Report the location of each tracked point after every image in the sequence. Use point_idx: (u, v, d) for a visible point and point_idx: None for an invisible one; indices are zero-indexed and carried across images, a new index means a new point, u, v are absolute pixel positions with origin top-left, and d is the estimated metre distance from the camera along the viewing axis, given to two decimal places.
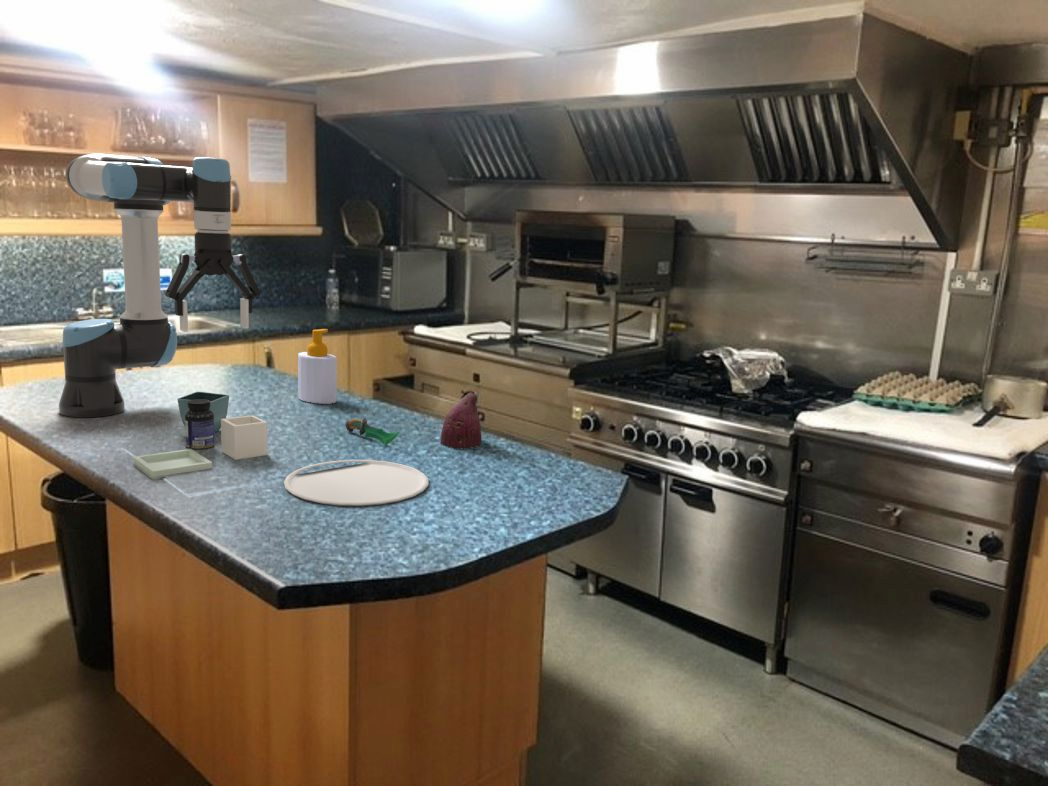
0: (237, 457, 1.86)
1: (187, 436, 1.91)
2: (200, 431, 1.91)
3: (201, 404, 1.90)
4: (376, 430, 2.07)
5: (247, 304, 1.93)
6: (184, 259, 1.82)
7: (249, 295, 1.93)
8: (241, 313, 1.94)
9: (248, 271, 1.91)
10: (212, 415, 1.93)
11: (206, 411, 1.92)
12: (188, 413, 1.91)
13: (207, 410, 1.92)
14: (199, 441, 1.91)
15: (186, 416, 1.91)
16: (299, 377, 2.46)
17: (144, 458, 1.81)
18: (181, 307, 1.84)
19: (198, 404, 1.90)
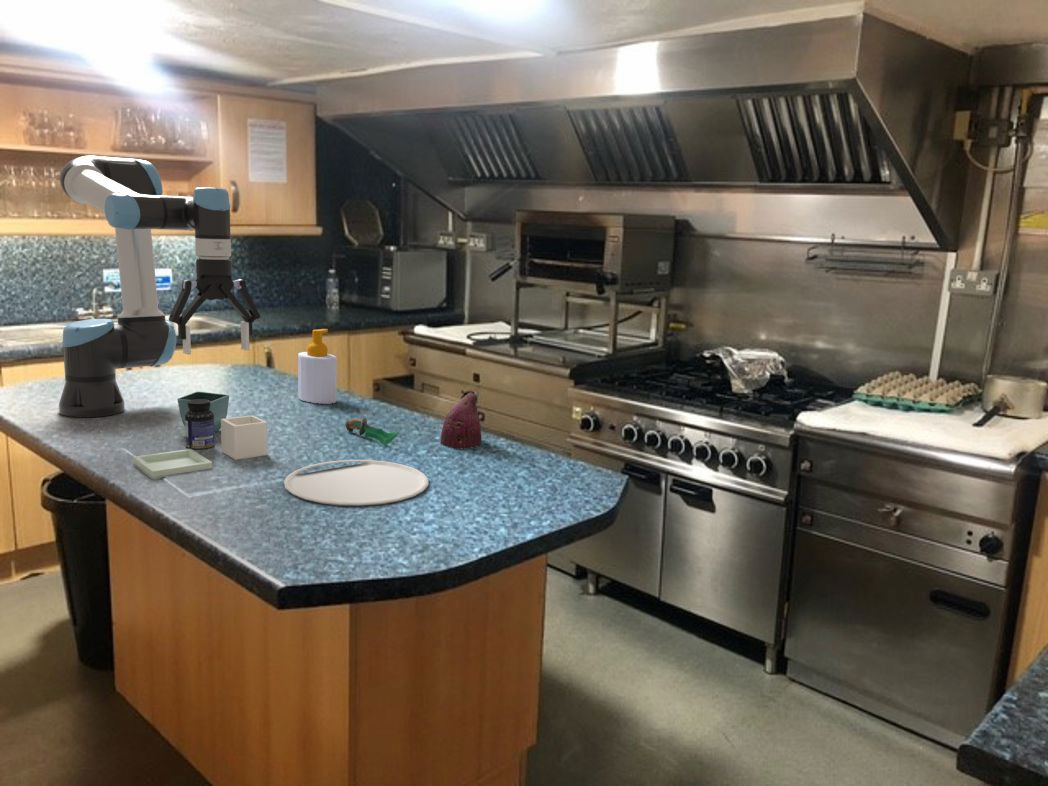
0: (237, 457, 1.86)
1: (187, 436, 1.91)
2: (200, 431, 1.91)
3: (201, 404, 1.90)
4: (375, 430, 2.07)
5: (247, 327, 2.00)
6: (186, 285, 1.89)
7: (249, 318, 2.00)
8: (242, 336, 2.02)
9: (248, 295, 1.99)
10: (212, 415, 1.93)
11: (206, 411, 1.92)
12: (188, 413, 1.91)
13: (207, 410, 1.92)
14: (199, 441, 1.91)
15: (186, 416, 1.91)
16: (299, 377, 2.46)
17: (144, 458, 1.81)
18: (184, 331, 1.91)
19: (198, 404, 1.90)
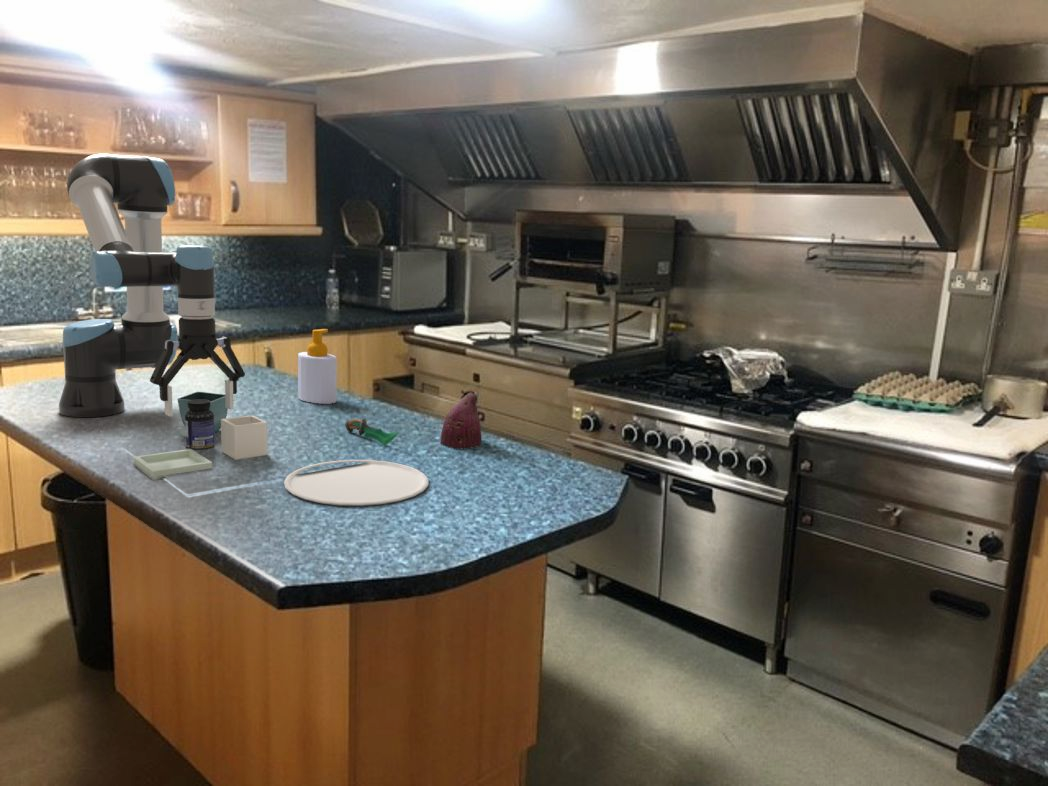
0: (237, 457, 1.86)
1: (187, 436, 1.91)
2: (200, 431, 1.91)
3: (201, 404, 1.90)
4: (375, 431, 2.07)
5: (232, 386, 1.95)
6: (168, 346, 1.84)
7: (233, 377, 1.95)
8: (226, 394, 1.96)
9: (233, 353, 1.94)
10: (212, 415, 1.93)
11: (206, 411, 1.92)
12: (188, 413, 1.91)
13: (207, 410, 1.92)
14: (199, 441, 1.91)
15: (186, 416, 1.91)
16: (299, 377, 2.46)
17: (144, 458, 1.81)
18: (166, 392, 1.86)
19: (198, 404, 1.90)
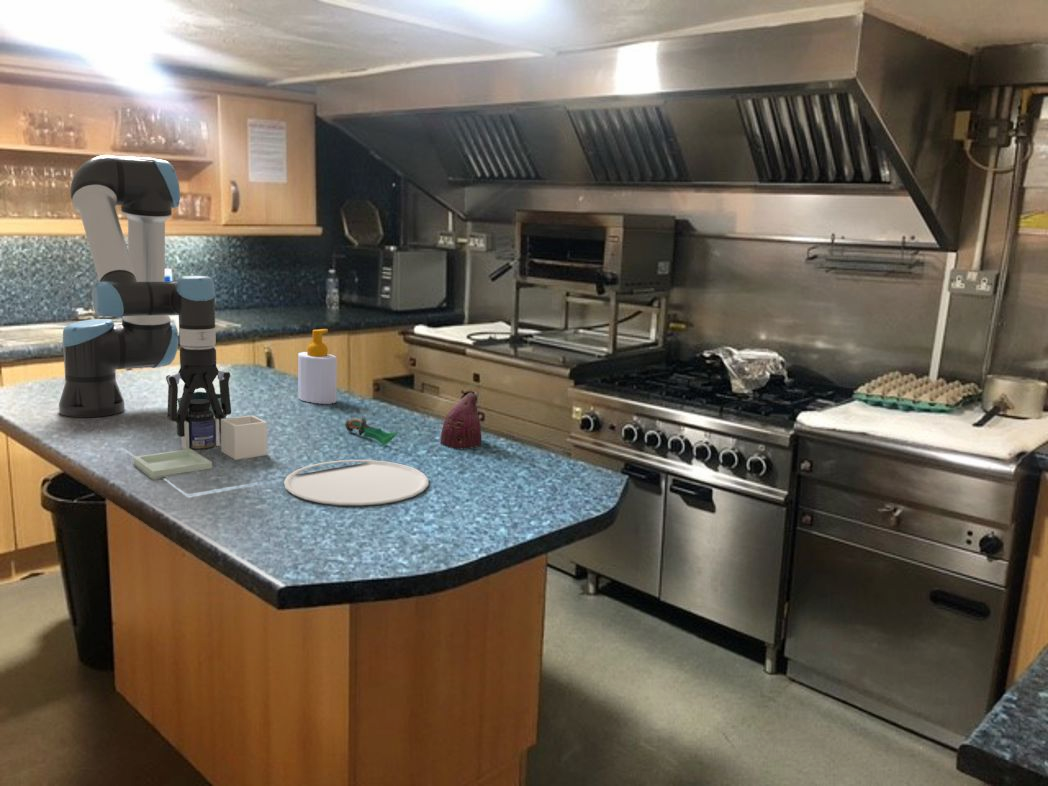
0: (237, 457, 1.86)
1: None
2: (200, 431, 1.91)
3: (201, 404, 1.90)
4: (374, 430, 2.07)
5: (218, 424, 1.94)
6: (171, 382, 1.86)
7: (220, 414, 1.95)
8: None
9: (228, 389, 1.95)
10: (212, 415, 1.93)
11: (206, 411, 1.92)
12: (188, 413, 1.91)
13: (207, 410, 1.92)
14: (199, 441, 1.91)
15: (186, 416, 1.91)
16: (299, 377, 2.46)
17: (144, 458, 1.81)
18: (183, 428, 1.90)
19: (198, 404, 1.90)
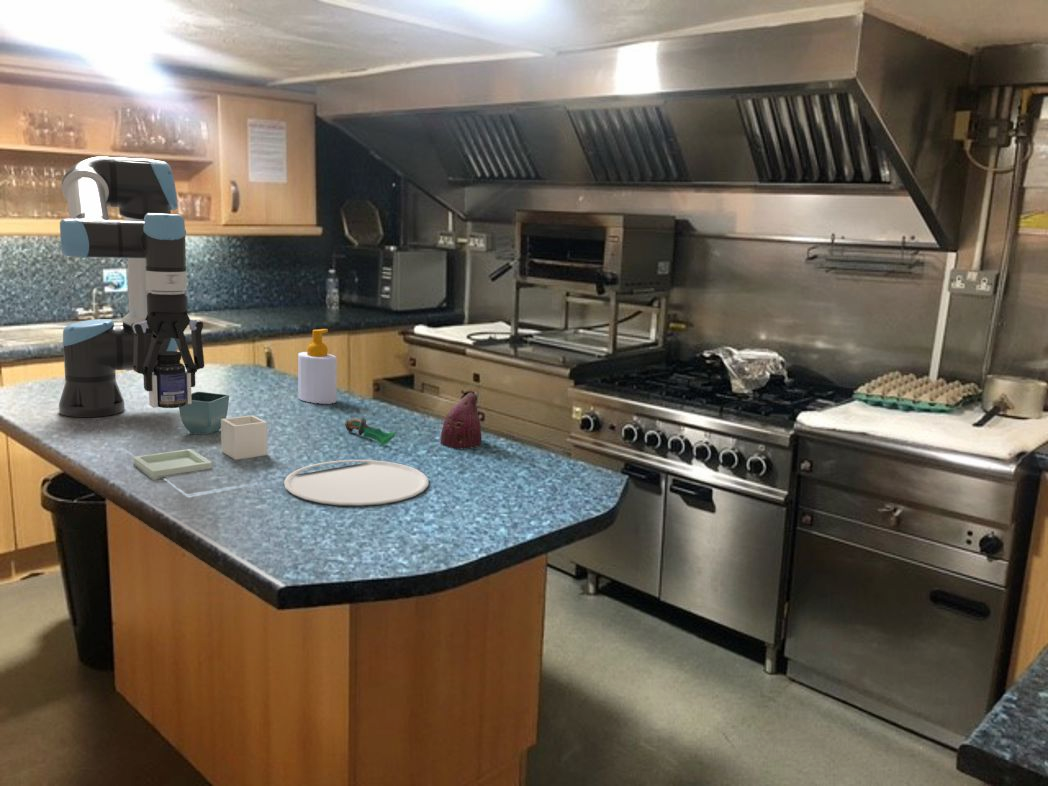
0: (237, 457, 1.86)
1: None
2: (169, 385, 1.73)
3: (171, 355, 1.73)
4: (374, 430, 2.07)
5: (189, 378, 1.77)
6: (137, 330, 1.69)
7: (192, 368, 1.77)
8: None
9: (200, 340, 1.77)
10: (183, 368, 1.76)
11: (177, 364, 1.75)
12: (156, 366, 1.73)
13: (177, 362, 1.75)
14: (168, 396, 1.74)
15: (154, 369, 1.74)
16: (299, 377, 2.46)
17: (144, 458, 1.81)
18: (150, 382, 1.73)
19: (167, 355, 1.73)
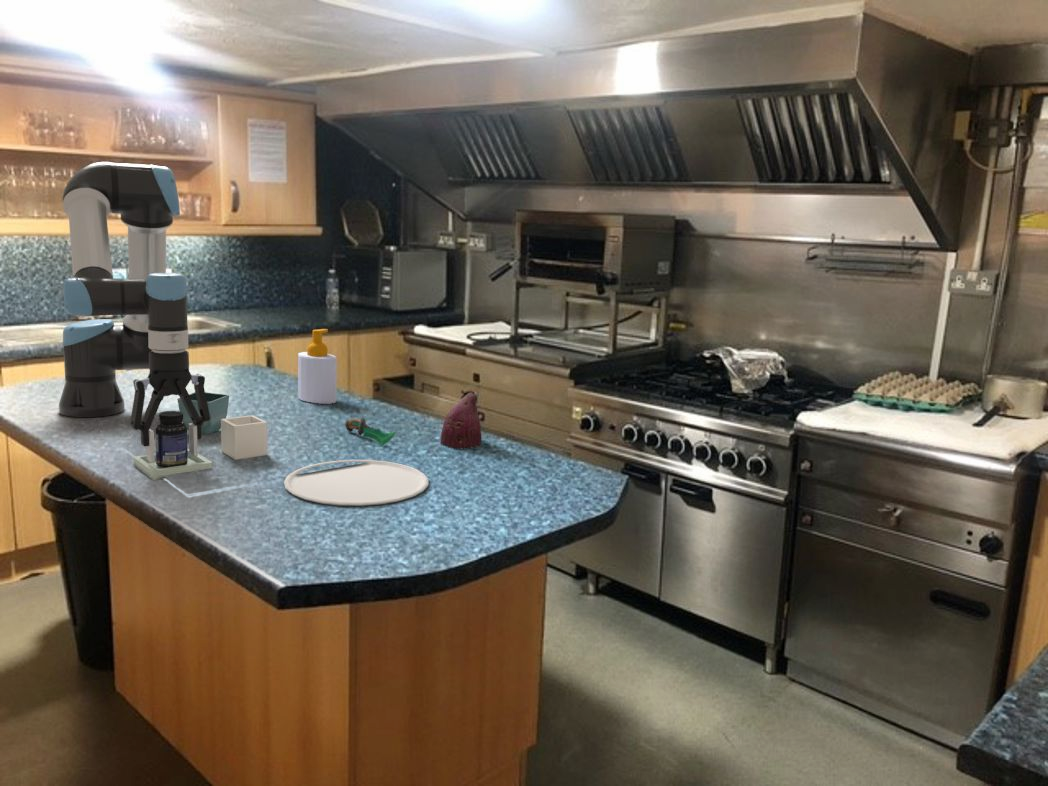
0: (237, 457, 1.86)
1: (157, 451, 1.77)
2: (171, 445, 1.76)
3: (173, 416, 1.76)
4: (373, 430, 2.07)
5: (195, 431, 1.80)
6: (138, 387, 1.71)
7: (198, 421, 1.80)
8: (189, 439, 1.82)
9: (204, 394, 1.80)
10: (185, 428, 1.78)
11: (179, 424, 1.77)
12: (159, 426, 1.76)
13: (180, 423, 1.78)
14: (170, 456, 1.77)
15: (156, 429, 1.76)
16: (299, 377, 2.46)
17: (144, 458, 1.81)
18: (147, 437, 1.75)
19: (170, 416, 1.76)
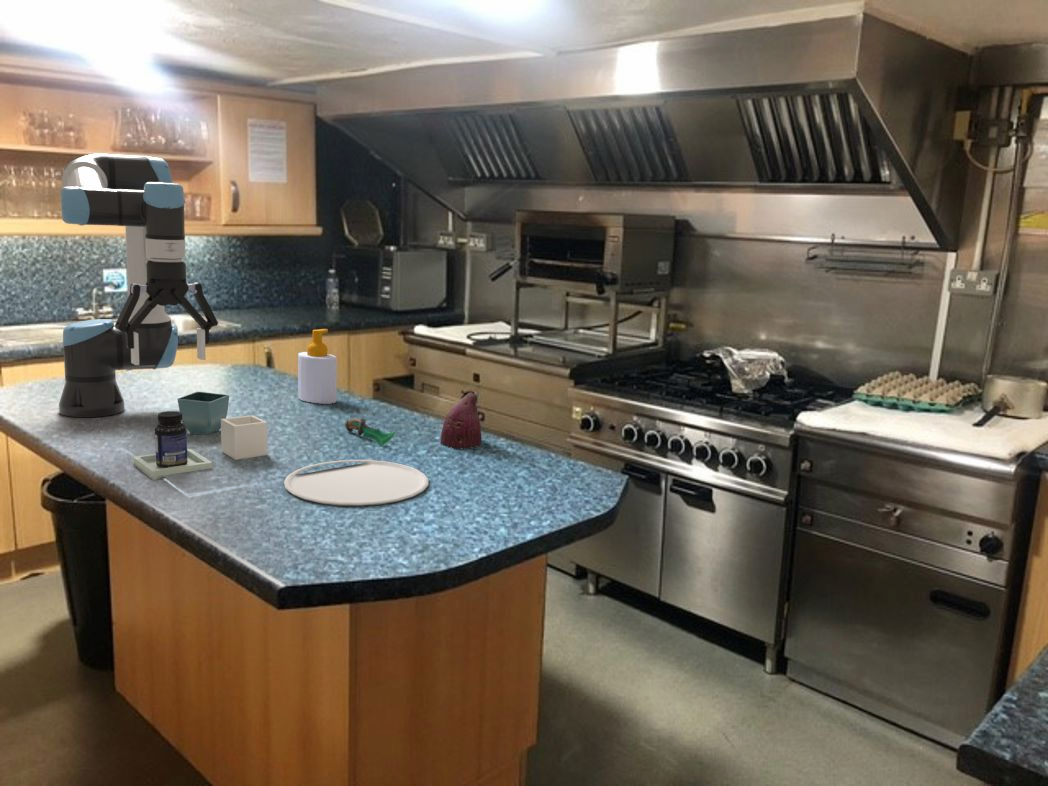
0: (237, 457, 1.86)
1: (157, 451, 1.77)
2: (171, 445, 1.76)
3: (172, 417, 1.76)
4: (373, 431, 2.07)
5: (203, 335, 1.83)
6: (134, 290, 1.72)
7: (206, 325, 1.83)
8: (197, 344, 1.85)
9: (205, 300, 1.82)
10: (184, 428, 1.78)
11: (178, 425, 1.77)
12: (158, 427, 1.76)
13: (179, 423, 1.78)
14: (169, 457, 1.76)
15: (156, 430, 1.76)
16: (299, 377, 2.46)
17: (144, 458, 1.81)
18: (132, 340, 1.75)
19: (168, 417, 1.76)
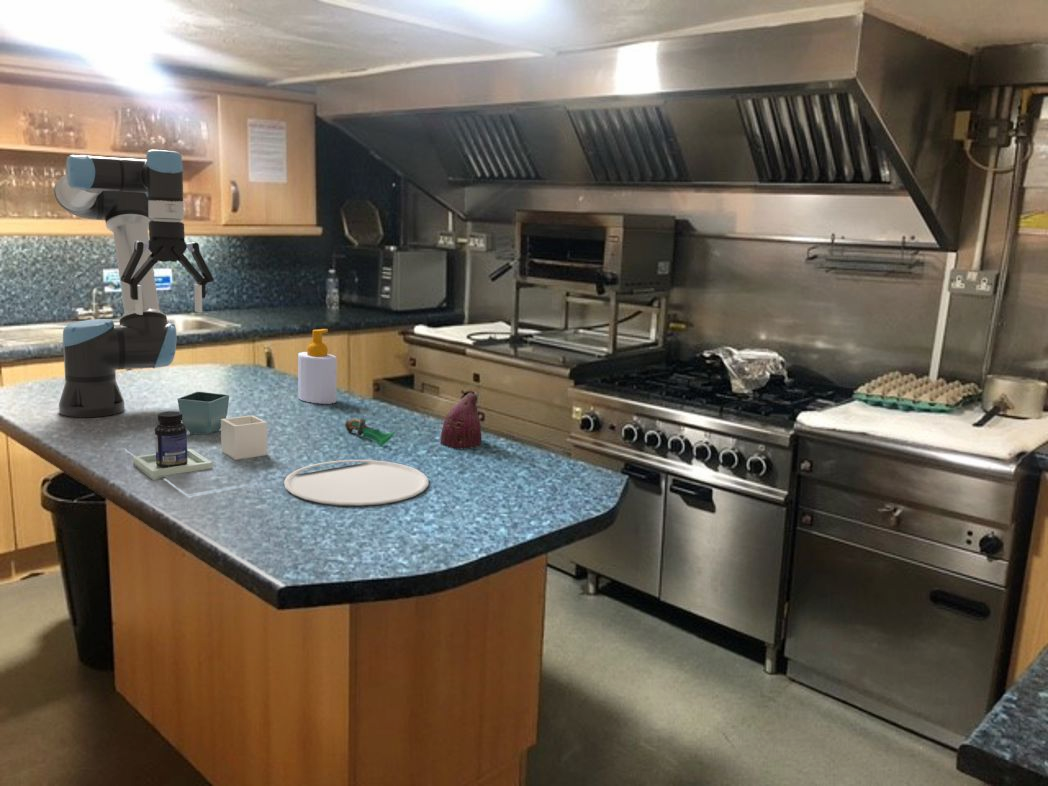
0: (237, 457, 1.86)
1: (157, 451, 1.77)
2: (171, 445, 1.76)
3: (172, 417, 1.76)
4: (372, 431, 2.07)
5: (200, 289, 2.03)
6: (138, 246, 1.93)
7: (202, 281, 2.03)
8: (195, 298, 2.05)
9: (201, 258, 2.02)
10: (184, 428, 1.78)
11: (178, 425, 1.77)
12: (158, 427, 1.76)
13: (179, 423, 1.78)
14: (169, 457, 1.77)
15: (156, 430, 1.76)
16: (299, 377, 2.46)
17: (144, 458, 1.81)
18: (136, 291, 1.94)
19: (169, 417, 1.76)
